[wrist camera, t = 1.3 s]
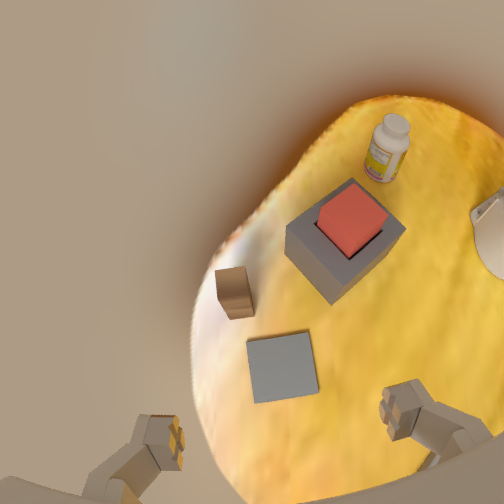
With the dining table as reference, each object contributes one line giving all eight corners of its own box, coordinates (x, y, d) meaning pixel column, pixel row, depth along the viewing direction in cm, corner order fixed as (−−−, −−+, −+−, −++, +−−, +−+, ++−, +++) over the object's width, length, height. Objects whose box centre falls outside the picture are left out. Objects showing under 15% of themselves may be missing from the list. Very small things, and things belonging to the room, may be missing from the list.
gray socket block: (341, 209, 53) (352, 177, 45) (387, 254, 49) (406, 228, 41) (284, 253, 50) (286, 225, 42) (331, 305, 46) (343, 286, 38)
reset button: (347, 203, 44) (354, 182, 39) (377, 233, 42) (388, 215, 37) (316, 227, 43) (320, 207, 38) (347, 259, 40) (356, 242, 36)
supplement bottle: (390, 158, 57) (408, 111, 45) (399, 184, 54) (421, 138, 43) (359, 157, 57) (373, 108, 46) (366, 184, 55) (384, 135, 43)
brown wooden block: (227, 296, 48) (214, 270, 38) (251, 293, 48) (244, 266, 38) (230, 319, 46) (217, 299, 36) (254, 316, 46) (248, 294, 36)
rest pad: (246, 342, 45) (246, 342, 44) (308, 332, 45) (308, 332, 44) (254, 403, 41) (254, 403, 40) (318, 392, 41) (318, 393, 40)
